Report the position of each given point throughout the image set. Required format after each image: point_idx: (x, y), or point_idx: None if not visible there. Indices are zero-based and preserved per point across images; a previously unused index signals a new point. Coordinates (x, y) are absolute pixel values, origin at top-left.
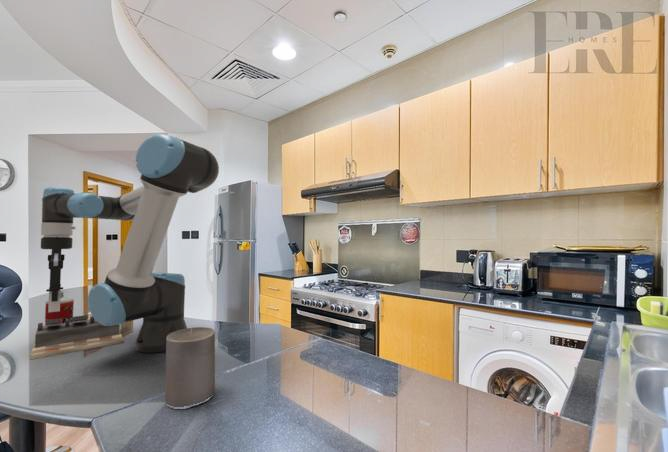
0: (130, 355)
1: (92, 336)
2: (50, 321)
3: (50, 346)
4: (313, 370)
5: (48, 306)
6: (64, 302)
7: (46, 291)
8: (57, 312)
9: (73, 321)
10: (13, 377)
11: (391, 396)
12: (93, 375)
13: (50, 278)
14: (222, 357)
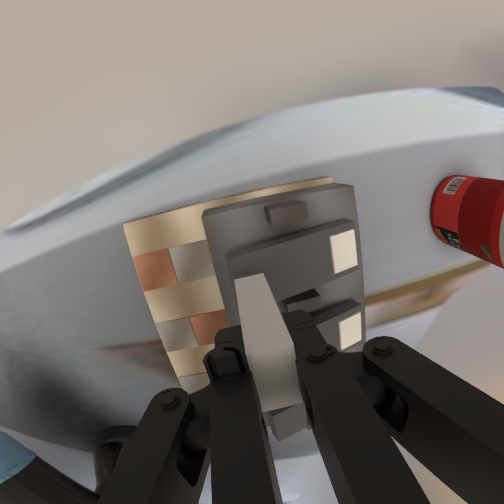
0: (92, 416)
1: None
2: (230, 273)
3: (193, 256)
4: None
5: (237, 294)
6: (501, 251)
7: (212, 349)
8: (475, 222)
9: (324, 313)
10: (16, 235)
11: None
12: (9, 364)
13: (107, 490)
14: None
